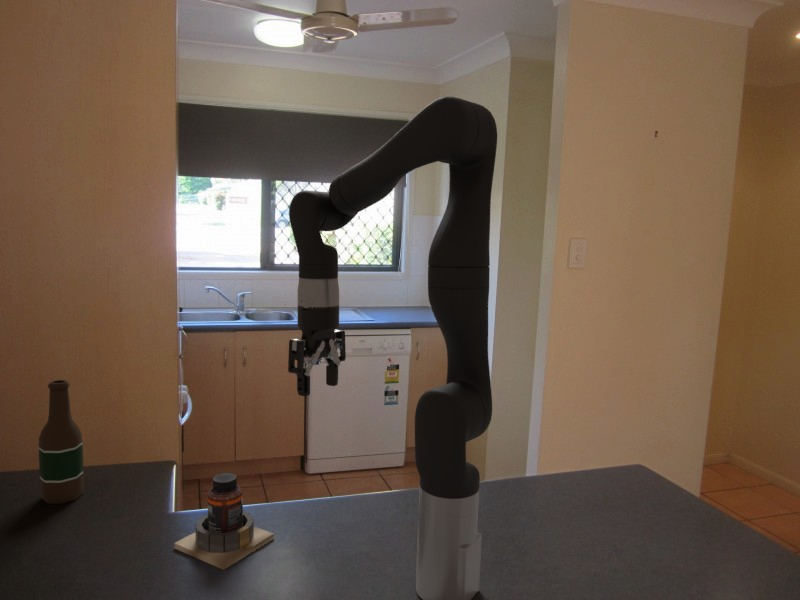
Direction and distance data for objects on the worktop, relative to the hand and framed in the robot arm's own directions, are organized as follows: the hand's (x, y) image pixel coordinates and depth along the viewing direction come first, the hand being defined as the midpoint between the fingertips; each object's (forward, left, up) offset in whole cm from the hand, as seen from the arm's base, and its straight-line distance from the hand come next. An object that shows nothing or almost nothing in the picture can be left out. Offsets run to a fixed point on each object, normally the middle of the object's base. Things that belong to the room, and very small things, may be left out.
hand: (318, 390), depth 113 cm
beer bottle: (+50, +19, -27) cm, 60 cm away
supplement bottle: (+9, +14, -26) cm, 31 cm away
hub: (+9, +14, -26) cm, 31 cm away
